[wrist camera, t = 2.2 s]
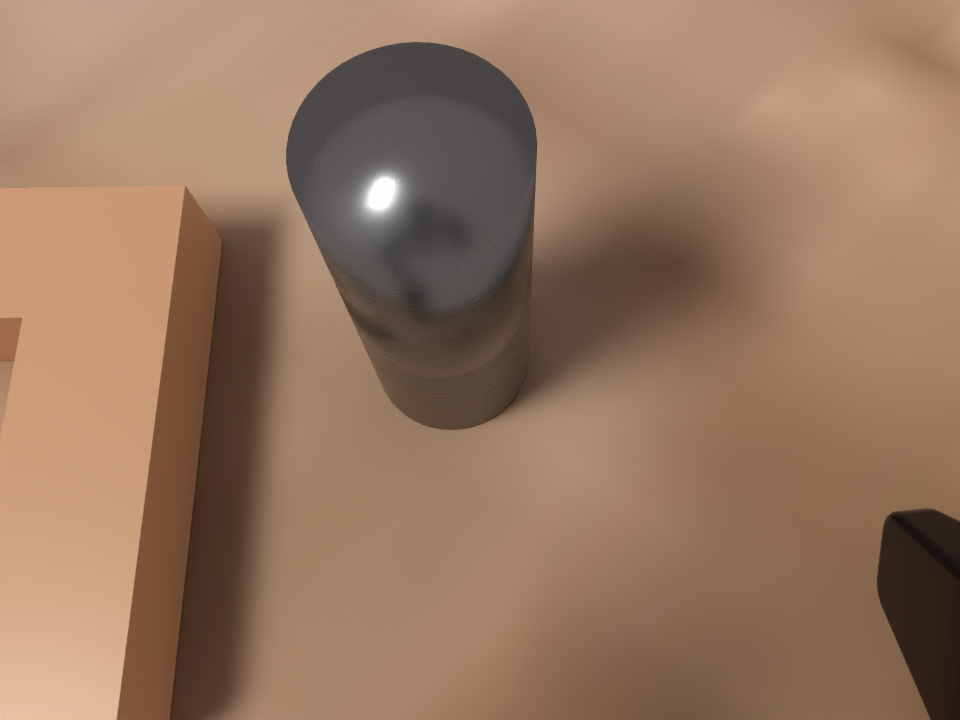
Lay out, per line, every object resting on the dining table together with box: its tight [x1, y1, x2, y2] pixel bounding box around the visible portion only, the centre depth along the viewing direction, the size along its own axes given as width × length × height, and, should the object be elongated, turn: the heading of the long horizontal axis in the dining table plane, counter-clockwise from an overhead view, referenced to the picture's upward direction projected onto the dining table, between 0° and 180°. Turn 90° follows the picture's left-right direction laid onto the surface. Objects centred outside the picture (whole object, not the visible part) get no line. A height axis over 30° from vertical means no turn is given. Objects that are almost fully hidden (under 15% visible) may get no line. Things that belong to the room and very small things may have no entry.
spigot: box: [286, 42, 537, 430], centre depth 19 cm, size 4×4×10 cm
